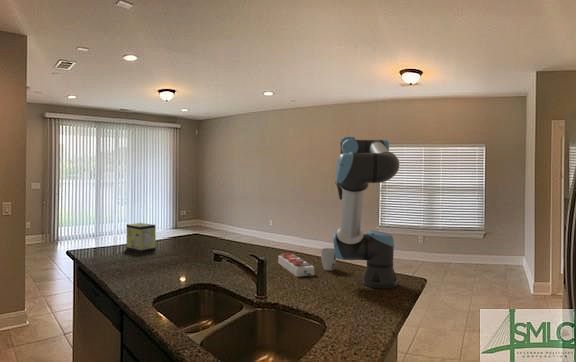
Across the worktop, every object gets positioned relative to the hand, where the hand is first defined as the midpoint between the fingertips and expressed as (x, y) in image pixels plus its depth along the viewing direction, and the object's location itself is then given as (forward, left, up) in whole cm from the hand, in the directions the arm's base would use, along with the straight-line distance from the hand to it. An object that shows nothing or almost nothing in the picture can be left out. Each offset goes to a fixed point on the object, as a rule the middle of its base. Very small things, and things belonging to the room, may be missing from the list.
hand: (346, 213), depth 203 cm
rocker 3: (-1, +27, -23) cm, 35 cm away
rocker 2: (+8, +27, -23) cm, 36 cm away
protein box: (+79, +100, -29) cm, 131 cm away
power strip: (+5, +25, -28) cm, 38 cm away
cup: (+2, +9, -29) cm, 30 cm away
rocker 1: (+17, +27, -23) cm, 39 cm away
